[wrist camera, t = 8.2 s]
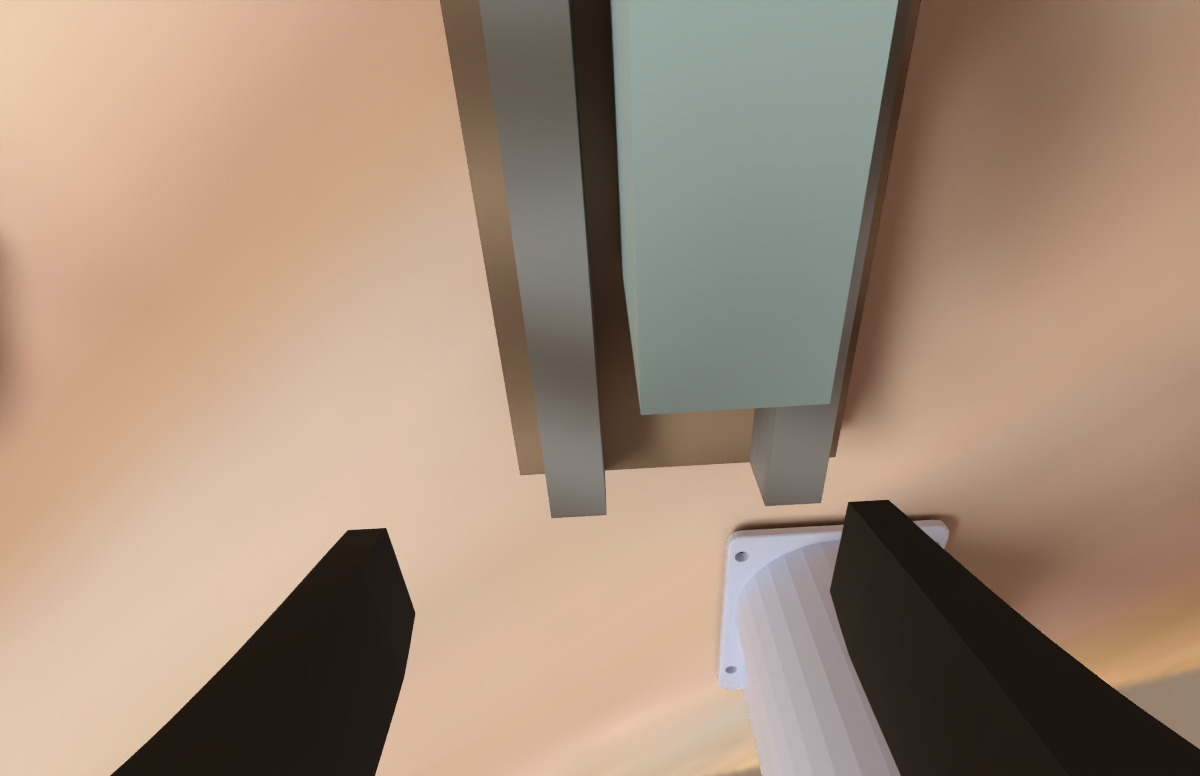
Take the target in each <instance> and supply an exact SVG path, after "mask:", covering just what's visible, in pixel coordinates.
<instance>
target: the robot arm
mask: <svg viewBox="0 0 1200 776" xmlns="http://www.w3.org/2000/svg"><path fill="white" fill-rule="evenodd" d="M949 532H950V531H949V530H948V528H947V526H946V525H945V524H944V522H942V521H940V520H920V521H912V520H911V519H910V518H908V517H907V516H906V515H905V514H904V513H903V512H902V511H901V510H899V509H898V508H897V507H896V506H895V505H894V504H892V503H891V502H890V501H889V500H878V501H860V502H848V507H847V511H846V516H845V521H844V525H830V526H812V527H794V528H776V529H758V530H741V531H736V532H734V533H732V534H731V535H730V536H729V537H728V540H727V549H726V563H725V577H724V590H723V604H722V618H721V632H720V646H719V659H718V673H717V678H718V683H719V686H720V687H722V688H724V689H743V694H744V698H745V702H746V707H747V711H748V716H749V720H750V725H751V729H752V733H753V738H754V742H755V747H756V751H757V756H758V760H759V765H760V769H761V773H762V776H1200V749H1198V748H1197V747H1195V746H1194V745H1193V744H1191V743H1190V742H1188V741H1187V740H1186V739H1184V738H1182V737H1181V736H1180V735H1178V734H1177V733H1176V732H1174V731H1173V730H1171V729H1170V728H1168V727H1167V726H1166V725H1164V724H1163V723H1161V722H1160V721H1158V720H1157V719H1155V718H1154V717H1153V716H1151V715H1150V714H1148V713H1147V712H1145V711H1144V710H1143V709H1141V708H1140V707H1138V706H1137V705H1136V704H1134V703H1133V702H1132V701H1130V700H1128V698H1126V697H1125V696H1123V695H1122V694H1120V693H1119V692H1118V691H1117V690H1115V689H1114V688H1113V687H1111V686H1110V685H1109V684H1107V683H1106V682H1105V681H1103V680H1102V679H1101V678H1099V677H1098V676H1097V675H1096V674H1094V673H1093V672H1092V671H1090V670H1089V669H1088V668H1086V667H1085V666H1084V665H1083V664H1081V663H1080V662H1079V661H1077V660H1076V659H1075V658H1074V657H1072V656H1071V655H1070V654H1068V653H1067V652H1066V651H1065V650H1063V649H1062V648H1061V647H1059V646H1058V645H1057V644H1055V643H1054V642H1053V641H1052V640H1050V639H1049V638H1048V637H1047V636H1046V635H1044V634H1043V633H1042V632H1041V631H1039V630H1038V629H1037V628H1036V627H1034V626H1033V625H1032V624H1031V623H1029V622H1028V621H1027V620H1026V619H1025V618H1023V617H1022V616H1021V615H1020V614H1019V613H1017V612H1016V611H1015V610H1014V609H1013V608H1011V607H1010V606H1009V605H1008V604H1007V603H1005V602H1004V601H1003V600H1002V599H1001V598H999V597H998V596H997V595H996V594H995V593H994V592H992V591H991V590H990V589H989V588H988V587H987V586H985V585H984V584H983V583H982V582H981V581H980V580H978V579H977V578H976V577H975V576H974V575H973V574H971V573H970V572H969V571H968V570H967V569H966V568H965V567H963V566H962V565H961V564H960V563H959V562H958V561H957V560H956V559H954V558H953V557H952V556H951V555H950V554H949V553H948V552H947V551H945V550H944V549H945V546H946V543H947V540H948V537H949ZM739 552H743V553H740V554H738V553H739ZM414 618H415V611H414V608H413V605H412V602H411V599H410V596H409V593H408V590H407V587H406V584H405V582H404V579H403V576H402V573H401V570H400V567H399V564H398V561H397V558H396V555H395V552H394V550H393V547H392V544H391V541H390V538H389V535H388V532H387V529H386V528H380V529H362V530H348V531H347V532H346V533H345V534H344V535H343V536H342V537H341V538H340V539H339V540H338V542H337V543H336V544H335V545H334V546H333V547H332V548H331V549H330V550H329V551H328V552H327V554H326V555H325V556H324V557H323V558H322V559H321V560H320V561H319V562H318V564H317V565H316V566H315V567H314V568H313V569H312V570H311V571H310V573H309V574H308V575H307V576H306V577H305V578H304V579H303V580H302V582H301V583H300V584H299V585H298V586H297V587H296V588H295V589H294V591H293V592H292V593H291V594H290V595H289V596H288V597H287V598H286V599H285V601H284V602H283V603H282V604H281V605H280V606H279V607H278V608H277V609H276V611H275V612H274V613H273V614H272V615H271V616H270V617H269V618H268V619H267V620H266V621H265V622H264V624H263V625H262V626H261V627H260V628H259V629H258V630H257V631H256V632H255V633H254V634H253V635H252V636H251V638H250V639H249V640H248V641H247V642H246V643H245V644H244V645H243V646H242V647H241V648H240V649H239V651H238V652H237V653H236V654H235V655H234V656H233V657H232V658H231V659H230V660H229V661H228V662H227V663H226V664H225V665H224V666H223V667H222V668H221V669H220V670H219V671H218V672H217V673H216V674H215V675H214V676H213V677H212V678H211V679H210V680H209V681H208V682H207V684H206V685H205V686H204V687H203V688H202V689H201V690H200V691H199V692H198V693H197V694H196V695H195V696H194V697H193V698H192V699H191V700H190V701H189V702H188V703H187V704H186V705H185V706H184V707H183V708H182V709H181V710H180V711H179V712H178V713H177V714H176V715H175V716H174V717H173V718H172V719H171V720H170V721H169V722H168V723H167V724H166V725H165V726H163V727H162V728H161V729H160V730H159V731H158V732H157V733H156V734H155V735H154V736H153V737H152V738H151V739H150V740H149V741H148V742H147V743H146V744H144V745H143V746H142V747H141V748H140V749H139V750H138V751H137V752H136V753H135V754H134V755H133V756H132V757H131V758H129V759H128V760H127V761H126V762H125V763H124V764H123V765H122V766H121V767H119V768H118V769H117V770H116V771H115V772H114V773H113V774H112V775H110V776H375V774H376V770H377V767H378V764H379V760H380V757H381V754H382V750H383V747H384V744H385V741H386V737H387V734H388V731H389V727H390V724H391V720H392V717H393V714H394V710H395V707H396V704H397V700H398V697H399V693H400V690H401V686H402V683H403V679H404V675H405V670H406V664H407V659H408V654H409V648H410V642H411V636H412V630H413V624H414Z"/></svg>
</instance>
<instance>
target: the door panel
mask: <svg viewBox="0 0 1200 776" xmlns="http://www.w3.org/2000/svg"><path fill="white" fill-rule="evenodd" d="M897 5H898V0H609V6H610V28H611V51H612V73H613V96H614V118H615V141H616V163H617V186H618V208H619V231H620V253H621V265H622V273H623V281H624V288H625V296H626V304H627V311H628V319H629V327H630V335H631V342H632V350H633V358H634V366H635V373H636V381H637V389H638V397H639V404H640V412H641V415H652V414H669V413H686V412H702V411H719V410H736V409H753V408H769V407H786V406H803V405H820V404H830V400H831V394H832V388H833V382H834V376H835V370H836V364H837V358H838V353H839V347H840V341H841V335H842V329H843V323H844V317H845V311H846V306H847V300H848V294H849V288H850V282H851V276H852V270H853V264H854V258H855V253H856V247H857V241H858V235H859V229H860V223H861V217H862V211H863V205H864V200H865V194H866V188H867V182H868V176H869V170H870V164H871V158H872V152H873V147H874V141H875V135H876V129H877V123H878V117H879V111H880V105H881V99H882V94H883V88H884V82H885V76H886V70H887V64H888V58H889V52H890V46H891V41H892V35H893V29H894V23H895V17H896V11H897Z"/></svg>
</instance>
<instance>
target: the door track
mask: <svg viewBox="0 0 1200 776" xmlns="http://www.w3.org/2000/svg"><path fill="white" fill-rule="evenodd" d="M920 2H921V0H898V5H897V11H896V17H895V23H894V29H893V35H892V41H891V46H890V52H889V58H888V64H887V70H886V76H885V82H884V88H883V94H882V99H881V105H880V111H879V117H878V123H877V129H876V135H875V141H874V147H873V152H872V158H871V164H870V170H869V176H868V182H867V188H866V194H865V200H864V205H863V211H862V217H861V223H860V229H859V235H858V241H857V247H856V253H855V258H854V264H853V270H852V276H851V282H850V288H849V294H848V300H847V306H846V311H845V317H844V323H843V329H842V335H841V341H840V347H839V353H838V358H837V364H836V370H835V376H834V382H833V388H832V394H831V400H830V404H820V405H803V406H786V407H769V408H753V409H736V410H719V411H702V412H686V413H669V414H652V415H641V412H640V404H639V397H638V389H637V381H636V373H635V366H634V358H633V350H632V342H631V335H630V327H629V319H628V311H627V304H626V296H625V288H624V281H623V273H622V265H621V253H620V231H619V208H618V186H617V163H616V141H615V118H614V96H613V73H612V51H611V28H610V6H609V0H440V3H441V9H442V15H443V21H444V27H445V33H446V39H447V45H448V50H449V56H450V62H451V68H452V74H453V80H454V86H455V92H456V98H457V104H458V110H459V115H460V121H461V127H462V133H463V139H464V145H465V151H466V157H467V163H468V169H469V174H470V180H471V186H472V192H473V198H474V204H475V210H476V216H477V222H478V228H479V234H480V239H481V245H482V251H483V257H484V263H485V269H486V275H487V281H488V287H489V293H490V299H491V304H492V310H493V316H494V322H495V328H496V334H497V340H498V346H499V352H500V358H501V363H502V369H503V375H504V381H505V387H506V393H507V399H508V405H509V411H510V417H511V423H512V428H513V434H514V440H515V446H516V452H517V458H518V464H519V470H520V475H533V474H545V475H546V482H547V489H548V496H549V503H550V510H551V517H552V518H562V517H580V516H597V515H606V488H605V470H620V469H637V468H655V467H672V466H689V465H707V464H724V463H742V462H750V464H751V467H752V470H753V473H754V476H755V478H756V481H757V484H758V487H759V490H760V493H761V495H762V498H763V501H764V504H765V506H775V505H793V504H811V503H821V499H822V494H823V488H824V483H825V477H826V472H827V466H828V461H829V457H835V456H836V451H837V445H838V440H839V435H840V429H841V424H842V419H843V413H844V408H845V403H846V397H847V392H848V387H849V381H850V376H851V371H852V365H853V360H854V355H855V349H856V344H857V339H858V333H859V328H860V322H861V317H862V312H863V306H864V301H865V296H866V290H867V285H868V280H869V274H870V269H871V264H872V258H873V253H874V248H875V242H876V237H877V232H878V226H879V221H880V216H881V210H882V205H883V200H884V194H885V189H886V184H887V178H888V173H889V168H890V162H891V157H892V152H893V146H894V141H895V136H896V130H897V125H898V119H899V114H900V109H901V103H902V98H903V93H904V87H905V82H906V77H907V71H908V66H909V61H910V55H911V50H912V45H913V39H914V34H915V29H916V23H917V18H918V13H919V7H920Z"/></svg>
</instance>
